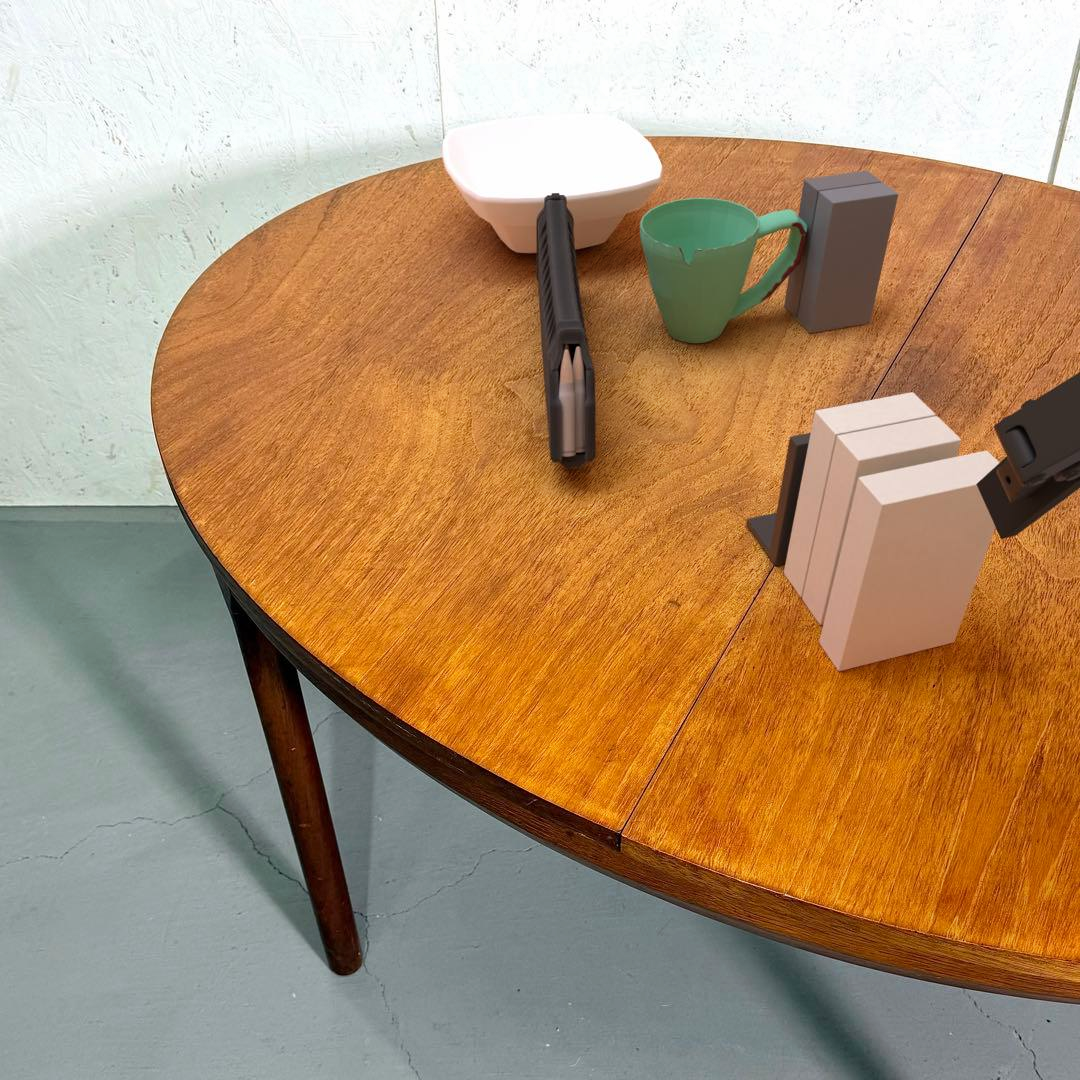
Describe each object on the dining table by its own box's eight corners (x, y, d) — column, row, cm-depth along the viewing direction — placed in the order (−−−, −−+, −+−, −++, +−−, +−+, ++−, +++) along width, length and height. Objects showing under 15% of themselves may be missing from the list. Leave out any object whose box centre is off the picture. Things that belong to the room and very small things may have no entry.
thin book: (932, 615, 67) (986, 449, 59) (954, 642, 66) (1014, 476, 57) (818, 642, 66) (858, 476, 57) (838, 671, 64) (882, 505, 55)
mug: (663, 367, 90) (665, 258, 83) (623, 313, 97) (623, 209, 90) (821, 334, 92) (835, 225, 86) (771, 284, 99) (781, 180, 93)
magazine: (534, 186, 96) (547, 237, 69) (570, 185, 96) (597, 236, 69) (538, 371, 103) (550, 484, 76) (571, 370, 103) (596, 483, 76)
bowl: (469, 294, 99) (464, 207, 94) (434, 204, 115) (427, 124, 109) (678, 269, 103) (686, 183, 97) (617, 185, 118) (620, 106, 112)
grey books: (842, 296, 99) (867, 170, 91) (870, 323, 95) (899, 193, 87) (783, 306, 97) (803, 178, 89) (809, 333, 94) (833, 203, 86)
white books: (835, 505, 76) (871, 346, 67) (914, 603, 68) (966, 438, 60) (745, 524, 74) (770, 364, 66) (816, 626, 67) (854, 461, 58)
